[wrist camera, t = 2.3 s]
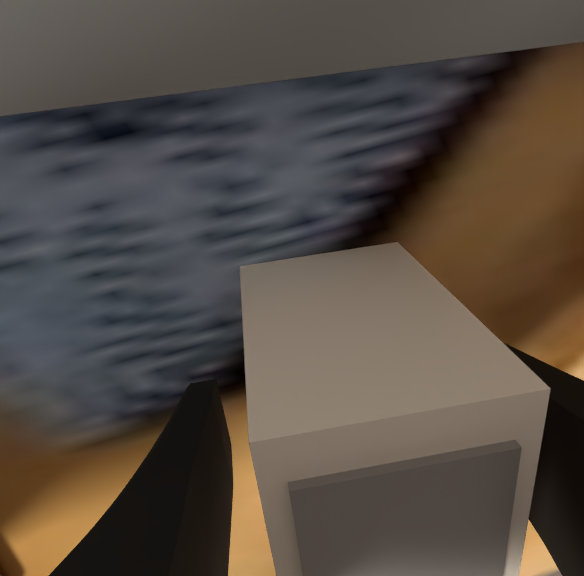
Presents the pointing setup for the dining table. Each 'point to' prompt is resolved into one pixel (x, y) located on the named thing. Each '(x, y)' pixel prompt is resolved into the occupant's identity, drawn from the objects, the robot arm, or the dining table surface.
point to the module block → (385, 420)
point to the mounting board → (246, 42)
